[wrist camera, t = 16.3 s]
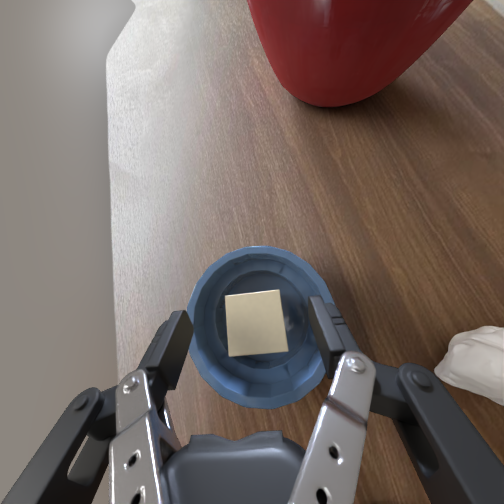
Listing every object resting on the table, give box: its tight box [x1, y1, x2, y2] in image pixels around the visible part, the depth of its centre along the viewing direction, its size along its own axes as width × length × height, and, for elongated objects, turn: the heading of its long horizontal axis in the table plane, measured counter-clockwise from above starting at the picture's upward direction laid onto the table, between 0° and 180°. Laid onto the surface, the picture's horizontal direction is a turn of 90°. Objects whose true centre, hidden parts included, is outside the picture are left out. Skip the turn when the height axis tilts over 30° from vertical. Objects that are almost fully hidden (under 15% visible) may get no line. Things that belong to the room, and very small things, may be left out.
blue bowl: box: [187, 246, 335, 409], centre depth 19 cm, size 14×14×6 cm
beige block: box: [225, 290, 289, 357], centre depth 18 cm, size 4×4×8 cm
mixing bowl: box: [247, 0, 473, 107], centre depth 23 cm, size 28×28×15 cm
